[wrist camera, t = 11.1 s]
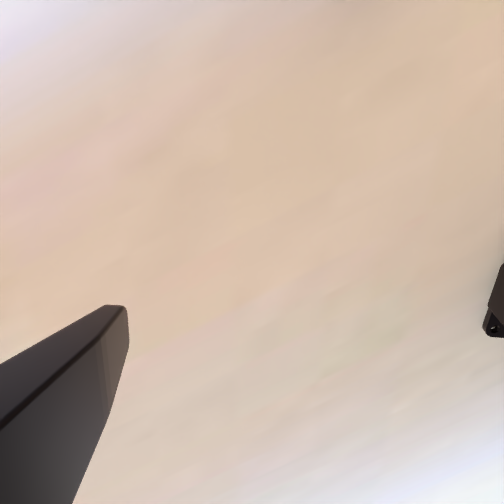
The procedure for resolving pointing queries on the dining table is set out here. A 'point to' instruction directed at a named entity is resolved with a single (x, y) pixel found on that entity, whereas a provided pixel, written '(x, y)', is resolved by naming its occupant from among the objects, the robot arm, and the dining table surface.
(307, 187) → the dining table surface
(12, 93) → the dining table surface
